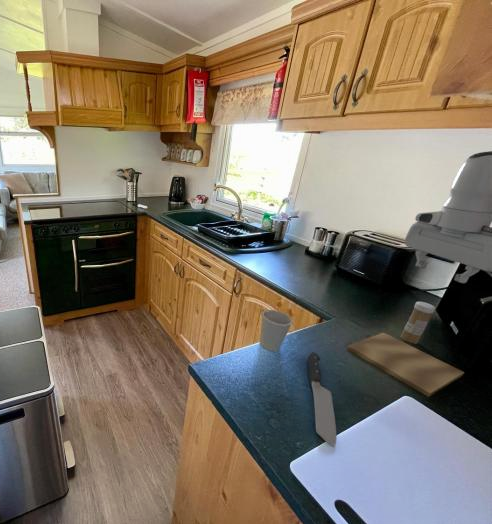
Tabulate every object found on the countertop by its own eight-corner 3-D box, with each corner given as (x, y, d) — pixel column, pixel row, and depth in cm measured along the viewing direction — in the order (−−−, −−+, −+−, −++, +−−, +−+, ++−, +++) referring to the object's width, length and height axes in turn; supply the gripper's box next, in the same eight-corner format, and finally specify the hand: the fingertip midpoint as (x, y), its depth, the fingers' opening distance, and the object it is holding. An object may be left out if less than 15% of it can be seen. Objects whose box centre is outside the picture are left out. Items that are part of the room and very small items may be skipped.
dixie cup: (290, 352, 85) (299, 323, 81) (267, 356, 82) (275, 326, 79) (271, 335, 92) (278, 308, 89) (249, 338, 90) (256, 310, 86)
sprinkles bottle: (398, 334, 98) (414, 299, 93) (415, 338, 96) (432, 303, 91) (402, 341, 94) (419, 305, 89) (420, 346, 92) (438, 309, 88)
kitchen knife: (346, 449, 56) (320, 433, 57) (337, 456, 57) (312, 440, 58) (327, 358, 81) (310, 348, 82) (322, 364, 82) (304, 355, 83)
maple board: (462, 375, 80) (464, 372, 80) (428, 397, 72) (430, 393, 71) (381, 335, 97) (383, 332, 96) (346, 348, 88) (347, 345, 88)
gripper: (532, 233, 61) (500, 292, 65) (430, 213, 79) (411, 260, 84) (508, 232, 60) (476, 292, 65) (410, 213, 79) (392, 260, 83)
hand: (438, 274), depth 75 cm, fingers open, 8 cm apart
